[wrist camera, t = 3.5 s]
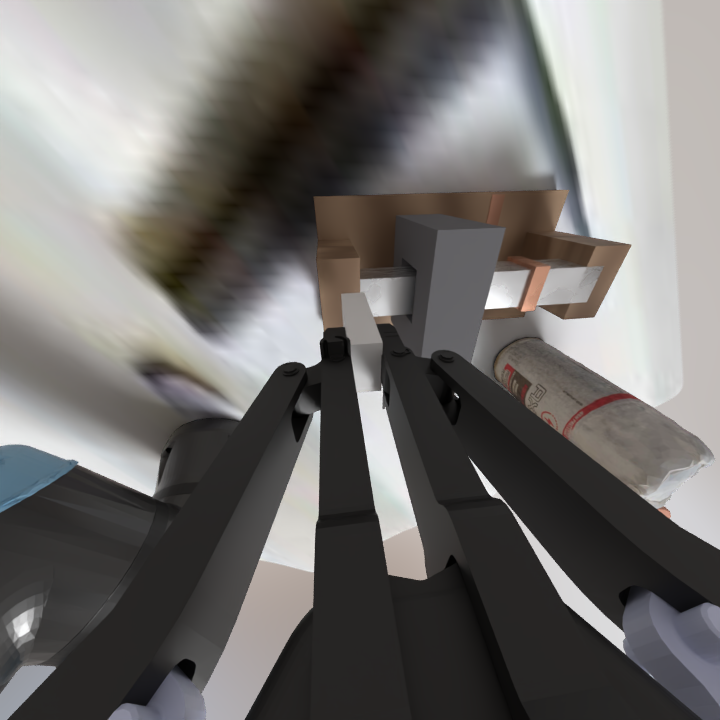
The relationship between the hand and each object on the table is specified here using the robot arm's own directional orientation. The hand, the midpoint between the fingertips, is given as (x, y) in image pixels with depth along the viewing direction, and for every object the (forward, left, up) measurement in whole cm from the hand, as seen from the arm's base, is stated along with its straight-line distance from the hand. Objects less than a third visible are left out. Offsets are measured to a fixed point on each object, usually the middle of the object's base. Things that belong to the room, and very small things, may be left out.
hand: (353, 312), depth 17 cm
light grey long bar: (+10, 0, -6) cm, 12 cm away
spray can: (+25, -14, -13) cm, 31 cm away
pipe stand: (+10, 0, -12) cm, 16 cm away
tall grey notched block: (+7, 0, -9) cm, 11 cm away
